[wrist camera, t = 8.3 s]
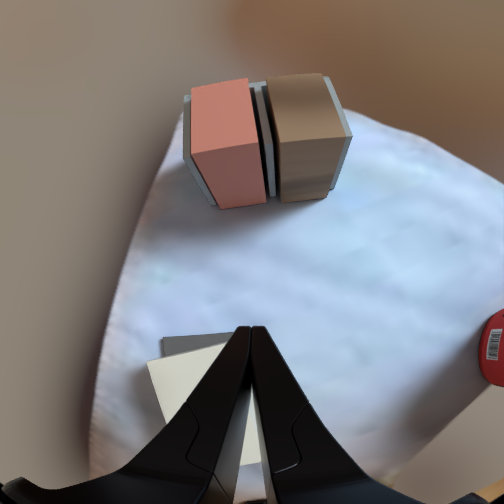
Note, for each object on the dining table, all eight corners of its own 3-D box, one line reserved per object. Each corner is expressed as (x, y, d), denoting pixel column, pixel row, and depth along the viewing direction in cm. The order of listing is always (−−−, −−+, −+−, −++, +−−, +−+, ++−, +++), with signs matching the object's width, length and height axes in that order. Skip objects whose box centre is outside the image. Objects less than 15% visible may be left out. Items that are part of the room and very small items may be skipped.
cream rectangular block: (269, 439, 19) (266, 460, 15) (200, 451, 19) (186, 471, 15) (236, 338, 21) (227, 342, 18) (167, 355, 22) (146, 361, 18)
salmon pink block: (266, 202, 24) (258, 142, 16) (220, 209, 25) (191, 153, 16) (258, 146, 26) (247, 77, 17) (216, 153, 26) (191, 88, 17)
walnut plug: (326, 197, 24) (346, 136, 15) (281, 203, 24) (280, 142, 15) (312, 141, 25) (321, 73, 17) (271, 146, 26) (265, 77, 17)
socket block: (334, 188, 24) (352, 136, 16) (210, 205, 25) (182, 158, 17) (319, 135, 26) (328, 76, 18) (207, 150, 26) (184, 95, 19)
